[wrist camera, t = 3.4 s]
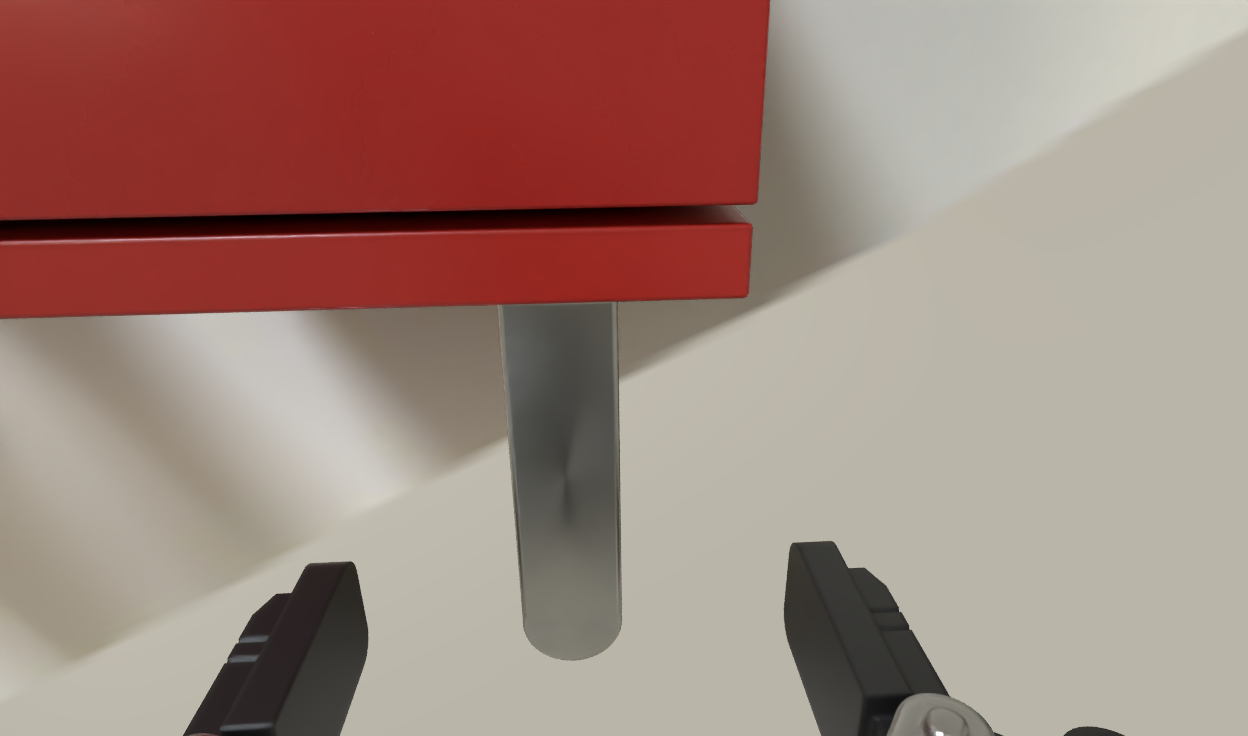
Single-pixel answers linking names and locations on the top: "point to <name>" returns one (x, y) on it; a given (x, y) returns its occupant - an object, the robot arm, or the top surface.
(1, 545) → the top surface
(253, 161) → the red upright rectangular box
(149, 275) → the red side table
